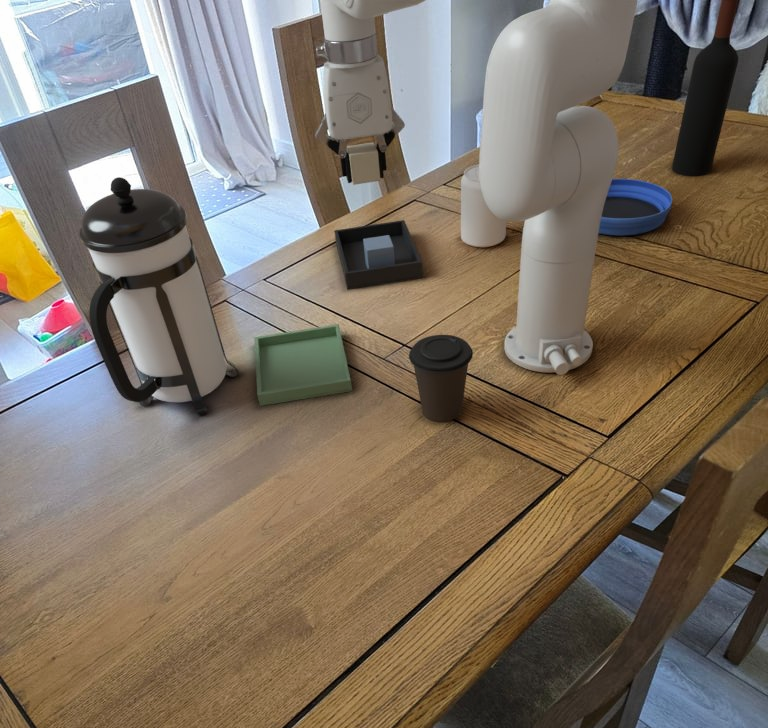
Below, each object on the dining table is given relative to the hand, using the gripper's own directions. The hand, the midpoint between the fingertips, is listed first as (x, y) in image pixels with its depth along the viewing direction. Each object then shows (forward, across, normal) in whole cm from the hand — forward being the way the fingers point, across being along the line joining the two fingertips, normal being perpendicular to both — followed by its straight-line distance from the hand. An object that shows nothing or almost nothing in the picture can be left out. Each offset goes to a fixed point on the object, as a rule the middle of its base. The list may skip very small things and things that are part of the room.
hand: (364, 176), depth 116 cm
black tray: (+14, +1, -2) cm, 14 cm away
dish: (+14, -15, -32) cm, 38 cm away
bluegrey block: (+14, +1, -5) cm, 15 cm away
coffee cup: (+15, +3, -46) cm, 49 cm away
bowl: (+15, +47, +2) cm, 49 cm away
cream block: (0, 0, 0) cm, 0 cm away
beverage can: (+14, +21, +1) cm, 25 cm away
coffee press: (+15, -32, -34) cm, 49 cm away
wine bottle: (+15, +68, +18) cm, 72 cm away
